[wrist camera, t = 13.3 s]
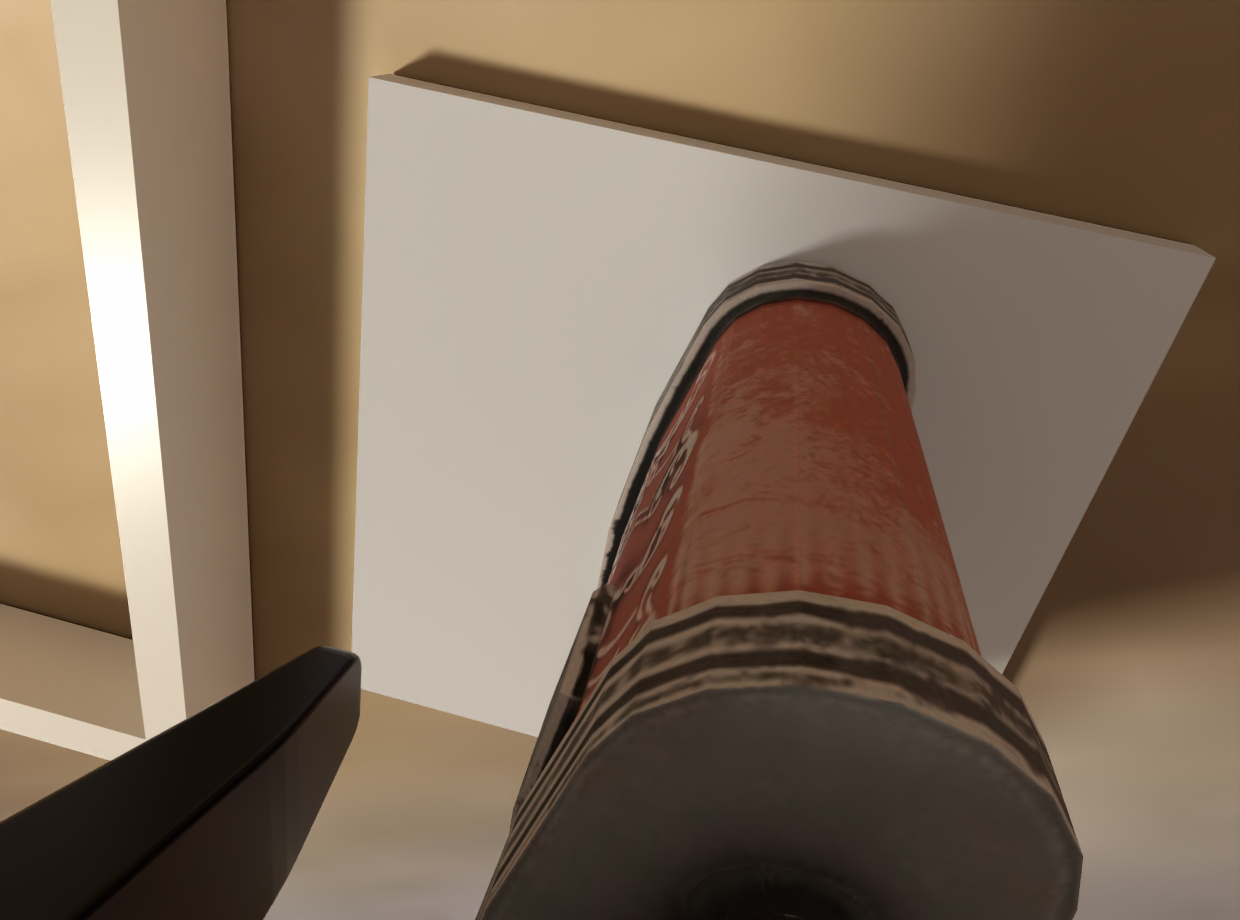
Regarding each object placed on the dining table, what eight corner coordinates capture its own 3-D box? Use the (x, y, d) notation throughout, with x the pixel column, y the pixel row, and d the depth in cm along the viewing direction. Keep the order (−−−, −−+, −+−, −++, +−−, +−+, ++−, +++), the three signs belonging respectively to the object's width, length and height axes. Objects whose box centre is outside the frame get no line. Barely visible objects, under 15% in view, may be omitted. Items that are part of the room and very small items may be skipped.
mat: (389, 74, 11) (369, 76, 11) (1195, 245, 10) (1216, 258, 10) (365, 663, 16) (350, 685, 15) (912, 811, 15) (916, 840, 15)
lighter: (698, 226, 11) (248, 1312, 2) (970, 306, 10) (1874, 1872, 2) (562, 697, 14) (215, 1750, 6) (758, 758, 14) (704, 1925, 6)
